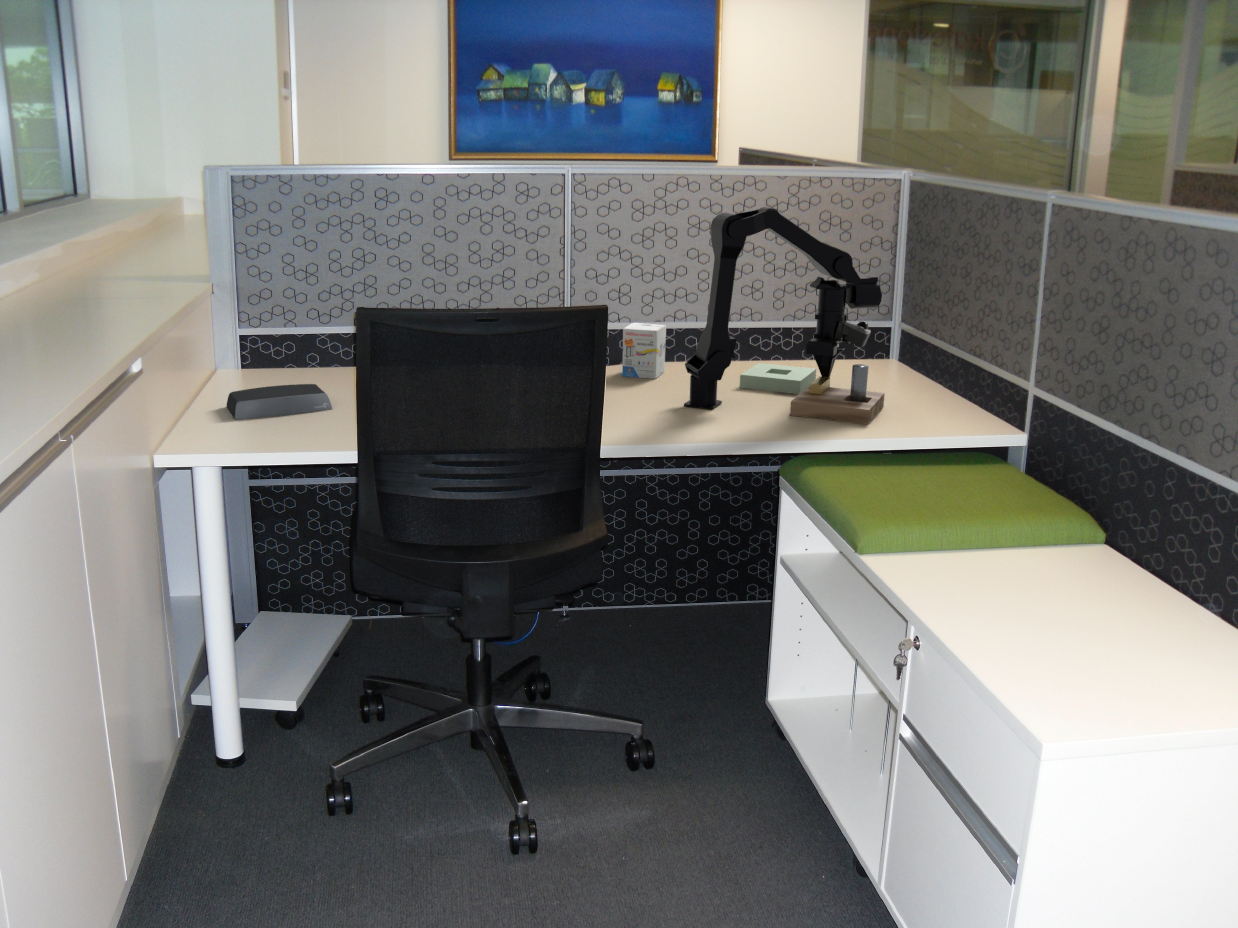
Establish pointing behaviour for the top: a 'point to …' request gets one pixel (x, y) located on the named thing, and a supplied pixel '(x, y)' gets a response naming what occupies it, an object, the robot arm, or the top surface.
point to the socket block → (837, 405)
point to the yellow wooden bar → (819, 385)
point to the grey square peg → (859, 383)
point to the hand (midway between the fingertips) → (825, 380)
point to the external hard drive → (277, 401)
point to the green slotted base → (778, 378)
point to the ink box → (644, 350)
